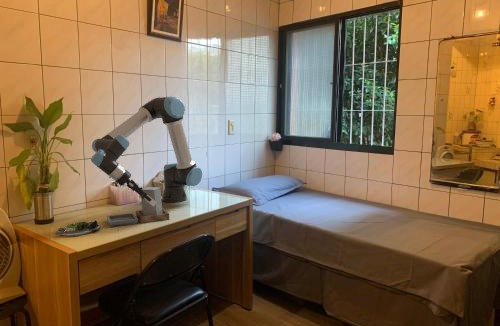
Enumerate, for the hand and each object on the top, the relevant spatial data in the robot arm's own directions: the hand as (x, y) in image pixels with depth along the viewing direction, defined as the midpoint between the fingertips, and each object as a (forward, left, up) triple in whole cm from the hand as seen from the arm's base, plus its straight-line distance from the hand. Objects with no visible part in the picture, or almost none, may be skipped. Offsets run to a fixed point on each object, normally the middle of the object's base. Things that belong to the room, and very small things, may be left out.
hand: (152, 201), depth 191 cm
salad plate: (+34, +6, -9) cm, 36 cm away
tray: (+15, +1, -8) cm, 18 cm away
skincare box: (0, 0, -9) cm, 9 cm away
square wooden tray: (0, 0, -8) cm, 8 cm away
